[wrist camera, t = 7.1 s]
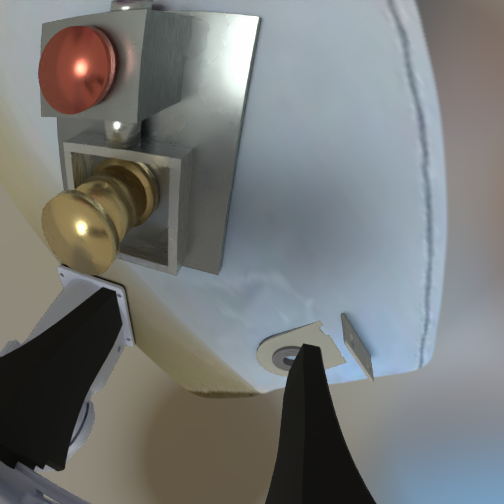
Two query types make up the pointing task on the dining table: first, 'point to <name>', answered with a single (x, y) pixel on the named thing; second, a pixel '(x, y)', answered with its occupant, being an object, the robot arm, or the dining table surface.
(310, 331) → the bracket
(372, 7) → the dining table surface
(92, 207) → the brass spool
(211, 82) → the valve base
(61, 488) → the robot arm
